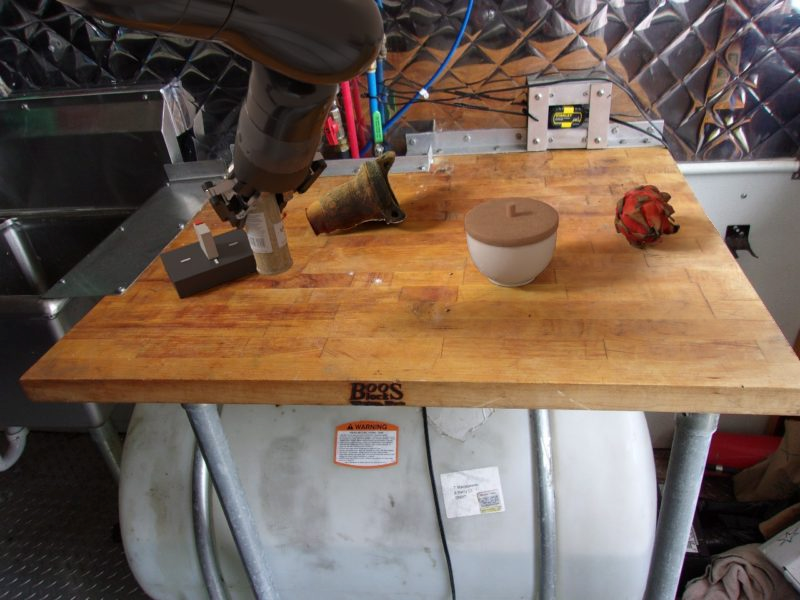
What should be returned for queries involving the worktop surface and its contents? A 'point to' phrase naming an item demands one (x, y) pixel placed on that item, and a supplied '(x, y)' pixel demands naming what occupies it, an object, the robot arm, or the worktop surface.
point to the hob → (209, 263)
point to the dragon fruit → (644, 216)
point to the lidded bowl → (511, 239)
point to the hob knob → (205, 239)
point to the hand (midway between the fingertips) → (255, 214)
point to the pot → (358, 200)
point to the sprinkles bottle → (268, 237)
